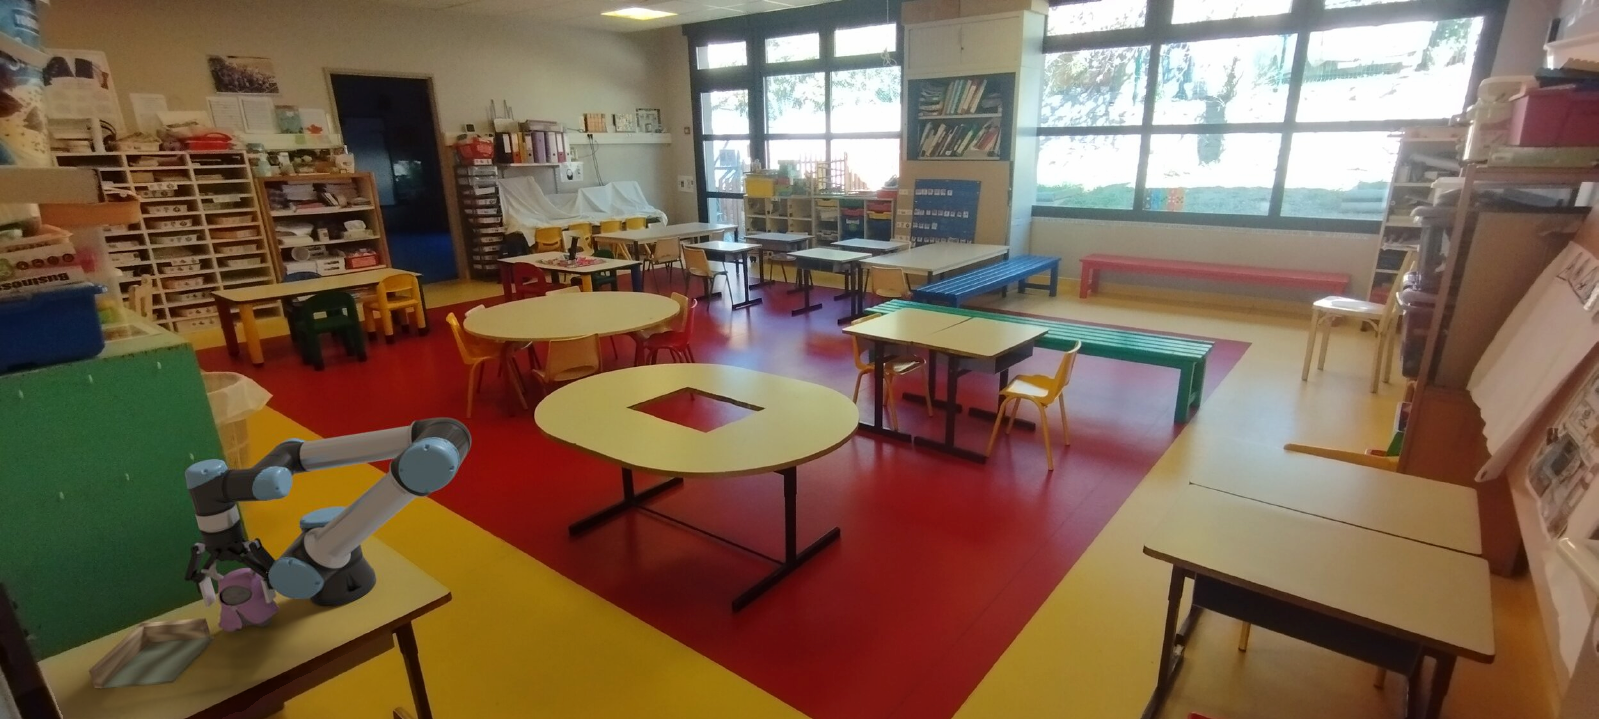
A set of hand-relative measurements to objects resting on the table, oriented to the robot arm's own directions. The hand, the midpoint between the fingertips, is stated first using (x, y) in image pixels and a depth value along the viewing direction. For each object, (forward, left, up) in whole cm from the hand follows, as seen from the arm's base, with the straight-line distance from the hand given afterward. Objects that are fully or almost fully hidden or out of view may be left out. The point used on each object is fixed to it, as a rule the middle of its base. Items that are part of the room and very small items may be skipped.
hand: (241, 601), depth 175 cm
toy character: (-1, 0, -8) cm, 8 cm away
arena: (+14, +9, -8) cm, 19 cm away
